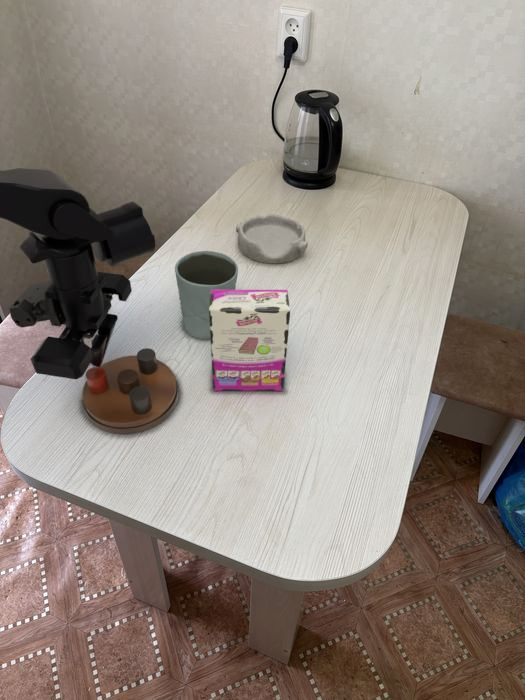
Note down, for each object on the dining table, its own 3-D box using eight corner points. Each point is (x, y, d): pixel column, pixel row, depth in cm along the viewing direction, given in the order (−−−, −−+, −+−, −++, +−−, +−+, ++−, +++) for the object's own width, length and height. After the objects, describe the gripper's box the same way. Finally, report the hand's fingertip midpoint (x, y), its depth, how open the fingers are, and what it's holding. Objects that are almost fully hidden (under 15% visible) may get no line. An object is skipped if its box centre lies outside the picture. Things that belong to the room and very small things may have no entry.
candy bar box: (281, 369, 82) (289, 288, 71) (283, 392, 79) (292, 310, 68) (213, 368, 82) (210, 287, 71) (211, 391, 78) (208, 309, 67)
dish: (313, 260, 106) (316, 240, 102) (252, 272, 102) (252, 251, 98) (286, 226, 115) (287, 206, 112) (228, 236, 111) (228, 215, 108)
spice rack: (172, 427, 71) (170, 409, 69) (74, 428, 71) (68, 410, 68) (179, 359, 81) (177, 341, 78) (93, 359, 80) (88, 341, 78)
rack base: (86, 443, 70) (84, 438, 70) (82, 373, 80) (80, 367, 79) (186, 423, 74) (185, 418, 73) (170, 357, 83) (169, 352, 82)
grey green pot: (171, 314, 91) (165, 258, 83) (222, 299, 95) (221, 244, 87) (193, 349, 85) (189, 292, 77) (247, 332, 89) (248, 276, 80)
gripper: (47, 230, 70) (72, 316, 81) (-31, 315, 56) (12, 405, 67) (124, 240, 69) (139, 326, 80) (64, 329, 55) (92, 418, 66)
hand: (97, 364), depth 73 cm, fingers closed
